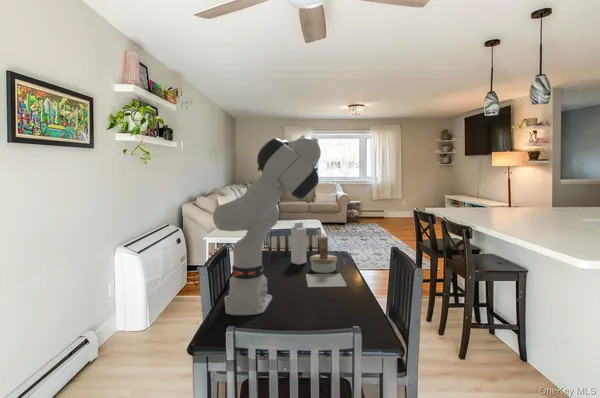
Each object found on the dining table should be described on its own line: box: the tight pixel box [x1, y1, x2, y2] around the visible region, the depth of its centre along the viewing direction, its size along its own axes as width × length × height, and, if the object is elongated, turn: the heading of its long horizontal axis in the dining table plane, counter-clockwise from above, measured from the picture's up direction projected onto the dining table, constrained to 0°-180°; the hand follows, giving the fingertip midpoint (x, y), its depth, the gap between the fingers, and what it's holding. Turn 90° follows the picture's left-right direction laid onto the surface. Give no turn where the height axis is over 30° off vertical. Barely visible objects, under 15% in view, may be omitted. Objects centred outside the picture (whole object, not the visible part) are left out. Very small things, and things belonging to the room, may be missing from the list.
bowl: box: [310, 261, 337, 274], centre depth 181 cm, size 12×12×5 cm
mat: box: [305, 273, 348, 288], centre depth 164 cm, size 18×17×1 cm
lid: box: [309, 235, 339, 264], centre depth 180 cm, size 14×14×12 cm
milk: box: [290, 222, 307, 266], centre depth 194 cm, size 6×6×22 cm
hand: (294, 197), depth 170 cm, fingers open, 8 cm apart
